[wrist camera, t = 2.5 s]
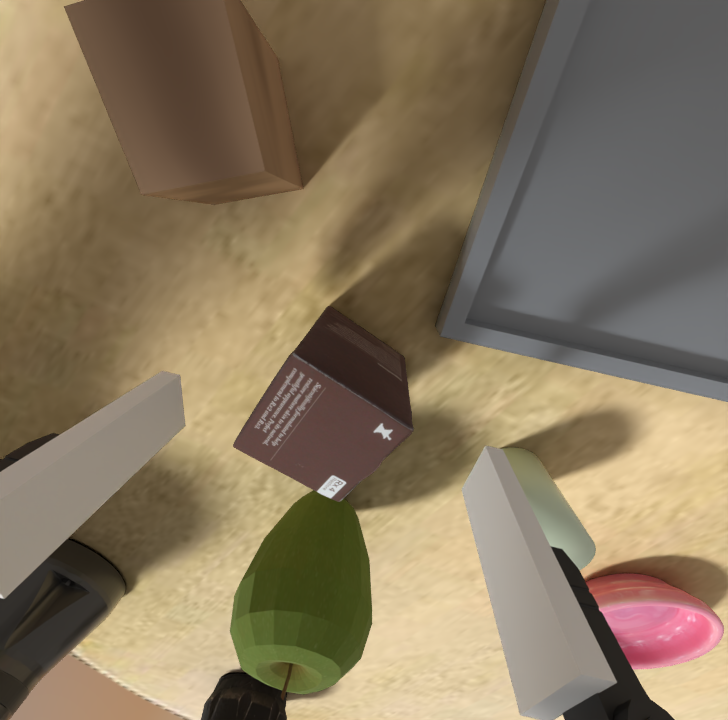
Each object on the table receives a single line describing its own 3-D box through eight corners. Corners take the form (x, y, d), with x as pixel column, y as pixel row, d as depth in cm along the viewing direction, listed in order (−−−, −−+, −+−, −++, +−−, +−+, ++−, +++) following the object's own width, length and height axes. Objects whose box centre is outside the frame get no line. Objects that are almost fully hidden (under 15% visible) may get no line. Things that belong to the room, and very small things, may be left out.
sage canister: (463, 487, 22) (488, 569, 17) (488, 441, 20) (525, 518, 15) (523, 500, 23) (566, 586, 17) (554, 455, 20) (614, 537, 15)
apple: (375, 533, 26) (367, 739, 15) (286, 525, 26) (220, 719, 16) (378, 463, 22) (370, 673, 12) (274, 456, 23) (178, 651, 12)
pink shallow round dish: (553, 633, 31) (570, 674, 28) (541, 570, 27) (559, 611, 24) (683, 624, 29) (716, 668, 26) (695, 552, 24) (737, 596, 21)
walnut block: (215, 204, 15) (141, 194, 11) (176, 83, 13) (63, 6, 8) (303, 189, 14) (265, 171, 10) (278, 58, 12) (214, -39, 8)
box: (329, 301, 17) (291, 348, 10) (407, 356, 18) (419, 431, 11) (283, 372, 19) (227, 447, 13) (354, 416, 20) (338, 507, 14)
